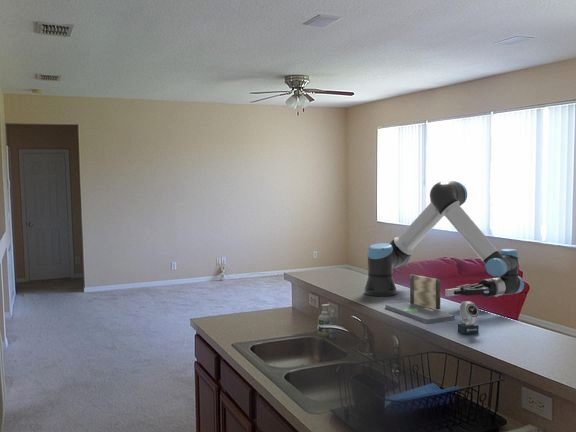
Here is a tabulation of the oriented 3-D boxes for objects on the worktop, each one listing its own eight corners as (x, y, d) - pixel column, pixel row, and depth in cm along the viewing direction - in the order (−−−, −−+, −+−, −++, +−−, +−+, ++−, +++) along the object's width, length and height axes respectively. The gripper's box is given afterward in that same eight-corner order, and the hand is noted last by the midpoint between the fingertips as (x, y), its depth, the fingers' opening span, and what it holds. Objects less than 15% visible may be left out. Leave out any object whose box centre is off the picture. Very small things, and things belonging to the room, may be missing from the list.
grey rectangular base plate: (385, 308, 229) (385, 304, 229) (411, 304, 234) (411, 301, 234) (426, 323, 203) (426, 319, 203) (454, 319, 209) (454, 315, 208)
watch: (467, 336, 185) (467, 304, 185) (454, 330, 193) (454, 300, 192) (482, 335, 187) (482, 303, 186) (469, 329, 194) (469, 299, 194)
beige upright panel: (408, 303, 229) (408, 274, 228) (413, 302, 230) (413, 274, 230) (436, 309, 216) (436, 280, 215) (441, 308, 218) (441, 279, 217)
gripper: (502, 299, 225) (457, 305, 216) (480, 293, 237) (436, 299, 228) (502, 281, 224) (457, 286, 215) (480, 276, 236) (436, 281, 227)
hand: (446, 293), depth 221 cm, fingers closed
